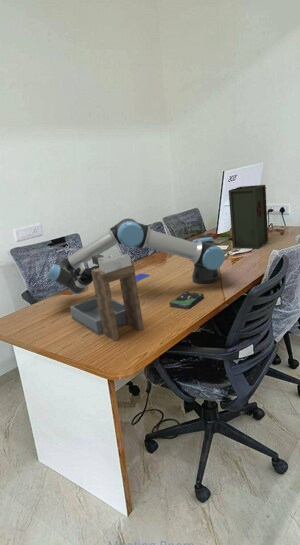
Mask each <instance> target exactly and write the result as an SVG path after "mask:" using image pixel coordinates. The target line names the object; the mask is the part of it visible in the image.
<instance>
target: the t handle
mask: <svg viewBox="0 0 300 545" xmlns="http://www.w3.org/2000/svg"><path fill="white" fill-rule="evenodd" d="M108 257H109V256H105V255H102V254H100V255H99V254H98V255H94V256H92V260H91V261H92V264H94V265H95V266H98V265H99V269H100V272H102V273H108V272H111V271H115V270H118V269H121V268H124V267H127V266H130V265H131V264H132V259H131V255H130V254H126V253H125V254H121V255H118V256H114V257H113V256H112V257H113V258H108Z"/></svg>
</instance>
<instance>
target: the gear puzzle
mask: <svg viewBox="0 0 300 545" xmlns="http://www.w3.org/2000/svg"><path fill="white" fill-rule="evenodd" d="M217 233H218V232H216V233H213V232H207V233H206V234H204V233H202V234H201V236H200V237H199V238H207V237H212V238H213V240H214V241H215V240H216V241H223V240H226V239H227V238H228V239H232V234H230V233H227V232H224V233H220V234H217Z"/></svg>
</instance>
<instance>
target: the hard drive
mask: <svg viewBox="0 0 300 545" xmlns="http://www.w3.org/2000/svg"><path fill="white" fill-rule="evenodd" d="M135 276H136V283H138V282H141V281H143V280H145V279H147V278H149V277H150V276H151V275H150V274H147V273H138V274H135Z"/></svg>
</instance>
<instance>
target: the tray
mask: <svg viewBox="0 0 300 545" xmlns="http://www.w3.org/2000/svg"><path fill="white" fill-rule="evenodd" d="M112 302H113V307H114V313H115V318H116V324H117V328H119V327H121V326H124V325H126V324H127V319H126V314H125V308H124V302H123V303H122V302H120V301H118V300H115V299H114V298H112ZM69 309H70V314H71V317H72V319H73V320H74V321H76V322H77V323H79V324H81V325H82V326H84V327H86V328H87V329H88V330H90V331H92V332H93V333H95V334H96V335H98V336H100V335H102V334H103V330H102V325H101V320H100V315H99V309H98V304H97V299H96V297H94V298H90V299H87V300H84V301H82V302H79V303H76V304H74V305H73V304H72V305H71V306H69Z"/></svg>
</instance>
